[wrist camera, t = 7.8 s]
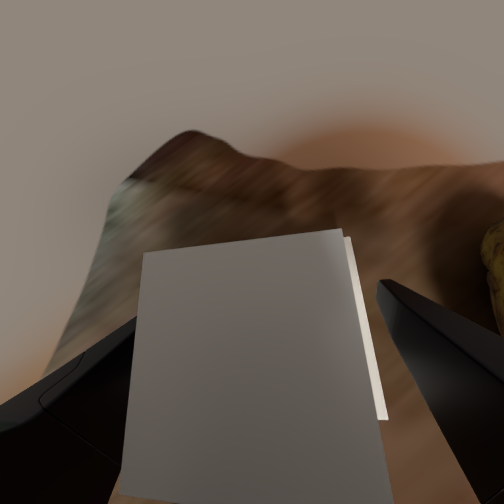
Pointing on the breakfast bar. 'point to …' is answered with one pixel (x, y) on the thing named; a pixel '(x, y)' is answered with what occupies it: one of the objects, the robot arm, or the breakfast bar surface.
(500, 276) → the potato
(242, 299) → the grey tall block
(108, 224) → the breakfast bar surface
